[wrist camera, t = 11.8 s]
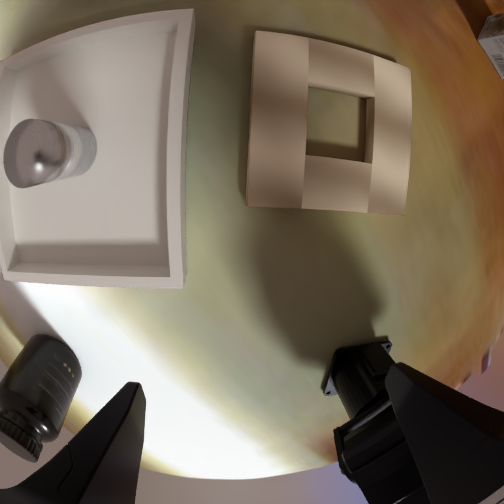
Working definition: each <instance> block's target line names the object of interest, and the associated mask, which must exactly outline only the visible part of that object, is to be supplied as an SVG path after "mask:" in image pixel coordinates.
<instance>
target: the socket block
mask: <svg viewBox="0 0 504 504" xmlns="http://www.w3.org/2000/svg"><path fill="white" fill-rule="evenodd" d="M308 87H313V88H318V89H324V90H329V91H334V92H339V93H343V94H348V95H352V96H356V97H360V98H364V99H367V105H366V138H365V156H364V162H357V161H351V160H344V159H336V158H328V157H320V156H311V155H305V152H306V133H307V109H308ZM411 127H412V99H411V76H410V69H409V68H407V67H404V66H402V65H399V64H397V63H394V62H392V61H389V60H386V59H383V58H381V57H378V56H375V55H372V54H369V53H366V52H363V51H359V50H356V49H353V48H349V47H345V46H342V45H338V44H334V43H330V42H326V41H321V40H316V39H312V38H307V37H301V36H295V35H289V34H282V33H275V32H266V31H256V32H255V35H254V41H253V59H252V77H251V97H250V117H249V138H248V160H247V182H246V205H247V207H272V208H298V209H319V210H336V211H352V212H366V213H378V214H390V215H401V216H404V210H405V203H406V195H407V187H408V177H409V166H410V152H411Z"/></svg>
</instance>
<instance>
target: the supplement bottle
mask: <svg viewBox="0 0 504 504" xmlns="http://www.w3.org/2000/svg"><path fill="white" fill-rule="evenodd" d="M81 376H82V371H81V366H80V364H79V361H78V360H77V358H76V356H75V355H74V354H73V352H72V351H71V350H70V349H69V348H68V347H67V346H66V345H65V344H63V343H62V342H61V341H59V340H57V339H56V338H54V337H51V336H48V335H44V334H39V335H35V336H33V337H32V338H31V339H30V340H29V341H28V342H27V344H26V345H25V346H24V348H23V349H22V350H21V352H20V353H19V355H18V356H17V358H16V359H15V360H14V362H13V363H12V365H11V366H10V368H9V369H8V371H7V372H6V374H5V375H4V377H3V379H2V380H1V382H0V442H1V443H2V444H3V445H4V446H5V447H6V448H8V449H9V450H11V451H12V452H13V453H15V454H16V455H18V456H20V457H21V458H23V459H25V460H27V461H30V462H34V463H35V462H37V461H38V458H39V455H40V453H41V451H42V449H43V445H42V442H44V443H48V442H52V441H54V440H55V439H57V438H58V436H59V433H60V430H61V428H62V425H63V423H64V420H65V417H66V415H67V412H68V409H69V407H70V404H71V402H72V399H73V397H74V395H75V392H76V390H77V387H78V385H79V383H80V380H81Z"/></svg>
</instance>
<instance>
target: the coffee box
mask: <svg viewBox="0 0 504 504" xmlns="http://www.w3.org/2000/svg"><path fill="white" fill-rule="evenodd" d="M477 41H478V42H479V44H480V45H481V47H482V48H483V50H484V51H485V53H486V54H487V56H488V57H489V59H490V60H491V62H492V64H493V65H494V67H495V69H496V70H497V72H498V74H499V76H500V77H501V79H504V13H499V14H495V15H491V16H488V17H487V19H486V21H485V24H484V26H483V28H482V30H481V32H480V34H479V36H478V39H477Z"/></svg>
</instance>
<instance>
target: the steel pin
mask: <svg viewBox="0 0 504 504" xmlns="http://www.w3.org/2000/svg"><path fill="white" fill-rule="evenodd" d="M96 155H97V141H96V138H95V135H94V134H93V132H92V131H91V130H90V129H89V128H87V127H85V126H80V125H74V124H68V123H61V122H54V121H47V120H39V119H25V120H23V121H21V122H20V123H19V124H17V125H16V126H15V127H14V129H13V130H12V131H11V133H10V135H9V137H8V139H7V141H6V144H5V148H4V155H3V163H4V170H5V173H6V176H7V178H8V180H9V181H10V182H11V184H13V185H14V186H15V187H17V188H28V187H32V186H36V185H40V184H44V183H48V182H53V181H57V180H62V179H66V178H71V177H76V176H80V175H82V174H84V173H85V172H87V171H88V170H89V169H90V167H91V166H92V165H93V163H94V161H95V158H96Z"/></svg>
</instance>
